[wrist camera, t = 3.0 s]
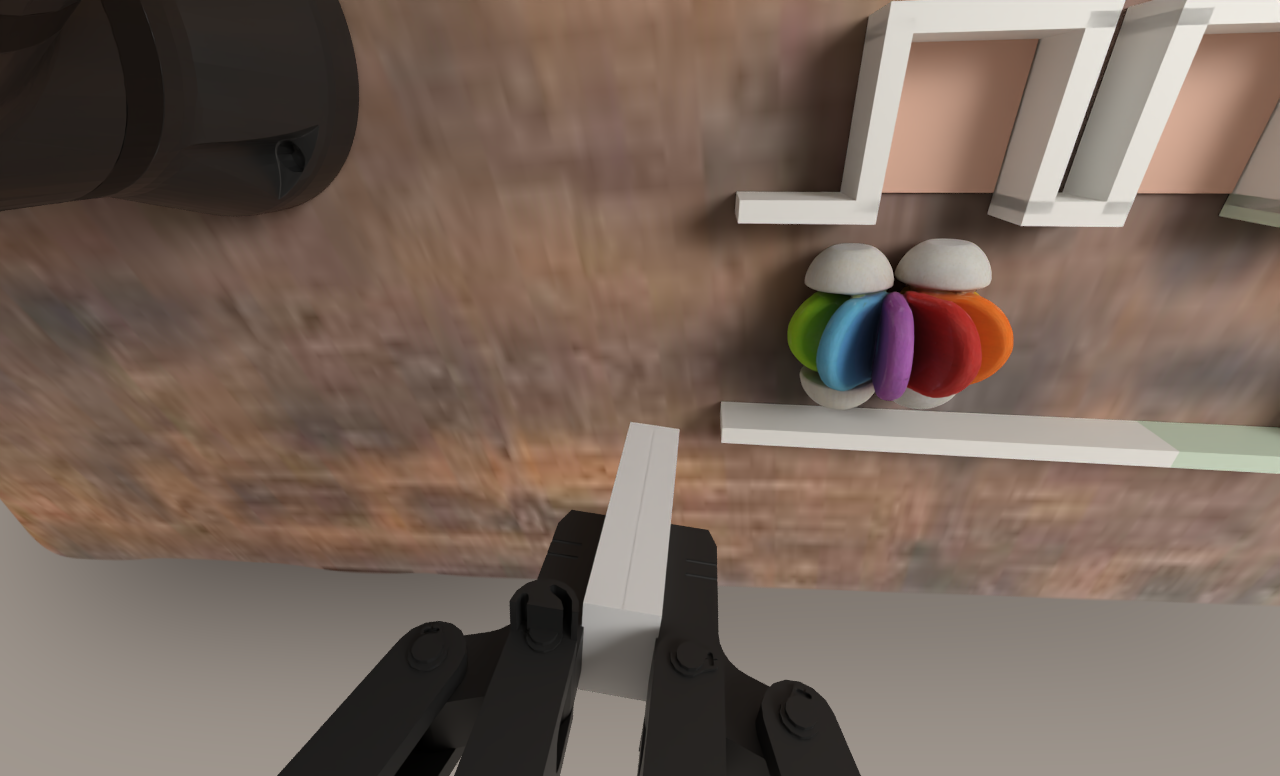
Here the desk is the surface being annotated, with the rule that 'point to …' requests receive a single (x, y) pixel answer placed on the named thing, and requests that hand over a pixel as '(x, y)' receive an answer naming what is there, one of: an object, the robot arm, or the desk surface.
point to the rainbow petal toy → (898, 325)
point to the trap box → (1047, 179)
